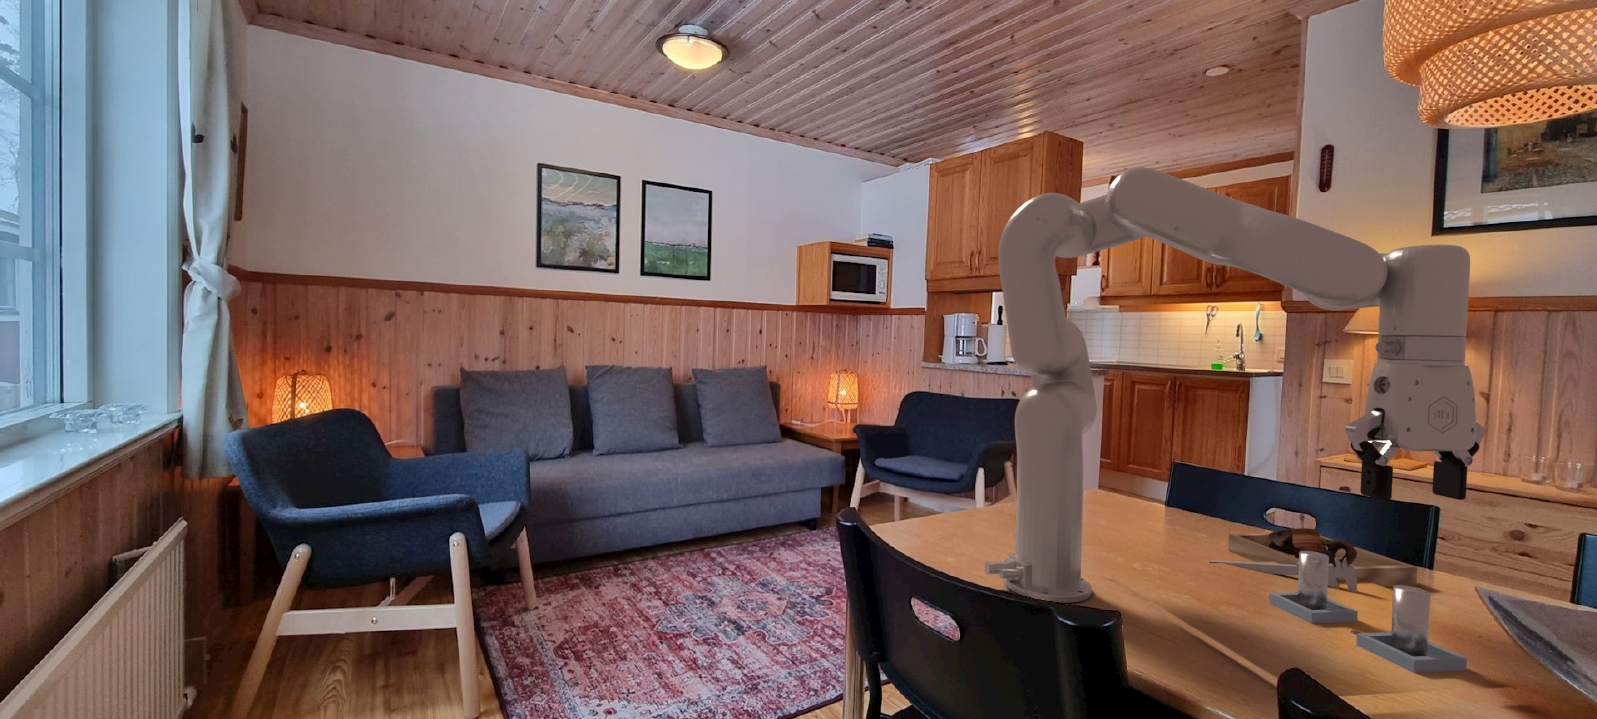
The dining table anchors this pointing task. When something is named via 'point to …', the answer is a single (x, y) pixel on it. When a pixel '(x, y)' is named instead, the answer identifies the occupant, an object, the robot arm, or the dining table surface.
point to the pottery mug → (1309, 544)
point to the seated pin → (1313, 580)
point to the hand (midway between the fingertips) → (1412, 497)
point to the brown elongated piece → (1367, 562)
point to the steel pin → (1410, 620)
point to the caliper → (1285, 569)
